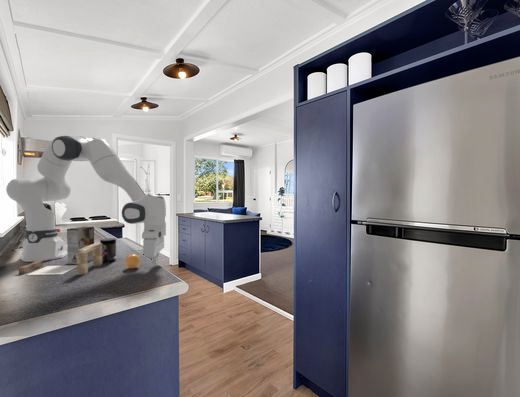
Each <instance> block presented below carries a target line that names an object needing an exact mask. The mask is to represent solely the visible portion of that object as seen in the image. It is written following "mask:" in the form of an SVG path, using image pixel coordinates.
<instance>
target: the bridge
mask: <svg viewBox="0 0 520 397" xmlns="http://www.w3.org/2000/svg"><path fill="white" fill-rule="evenodd" d="M91 250H93V260H92V266H93V267H98V266H99V267H101V266H102V265H103V262H102V243H100V242H97V243H96V242H94V244H92V245H89V246H87V247H84V248H82V249H79V250H77V264H76V265H77V267H76V274H77V275H78V276H80V275H84V276H85V275H87V274H88V273H89V261H88V252H89V251H91Z"/></svg>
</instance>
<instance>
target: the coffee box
mask: <svg viewBox="0 0 520 397" xmlns="http://www.w3.org/2000/svg"><path fill="white" fill-rule="evenodd" d="M66 236H67V237H66V240H67V241H66V242H67V243H66V250H67V254H68V255H67V264H68V265H69V264H70V265H72V264H73V265H77V250H79V249H82V248H84V247H87V246H89V245H92V244H95V226H78V227H77V226H76V227H69V228H66ZM91 261H93V250H91V251H89V252H88V262H91Z"/></svg>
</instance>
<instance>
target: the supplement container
mask: <svg viewBox="0 0 520 397" xmlns="http://www.w3.org/2000/svg"><path fill="white" fill-rule="evenodd" d="M99 243H102V264H103V263H105V264H107V263H113V262H115V261H116V260H117V238H116V237H107V238H101V239H100V240H99Z"/></svg>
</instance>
